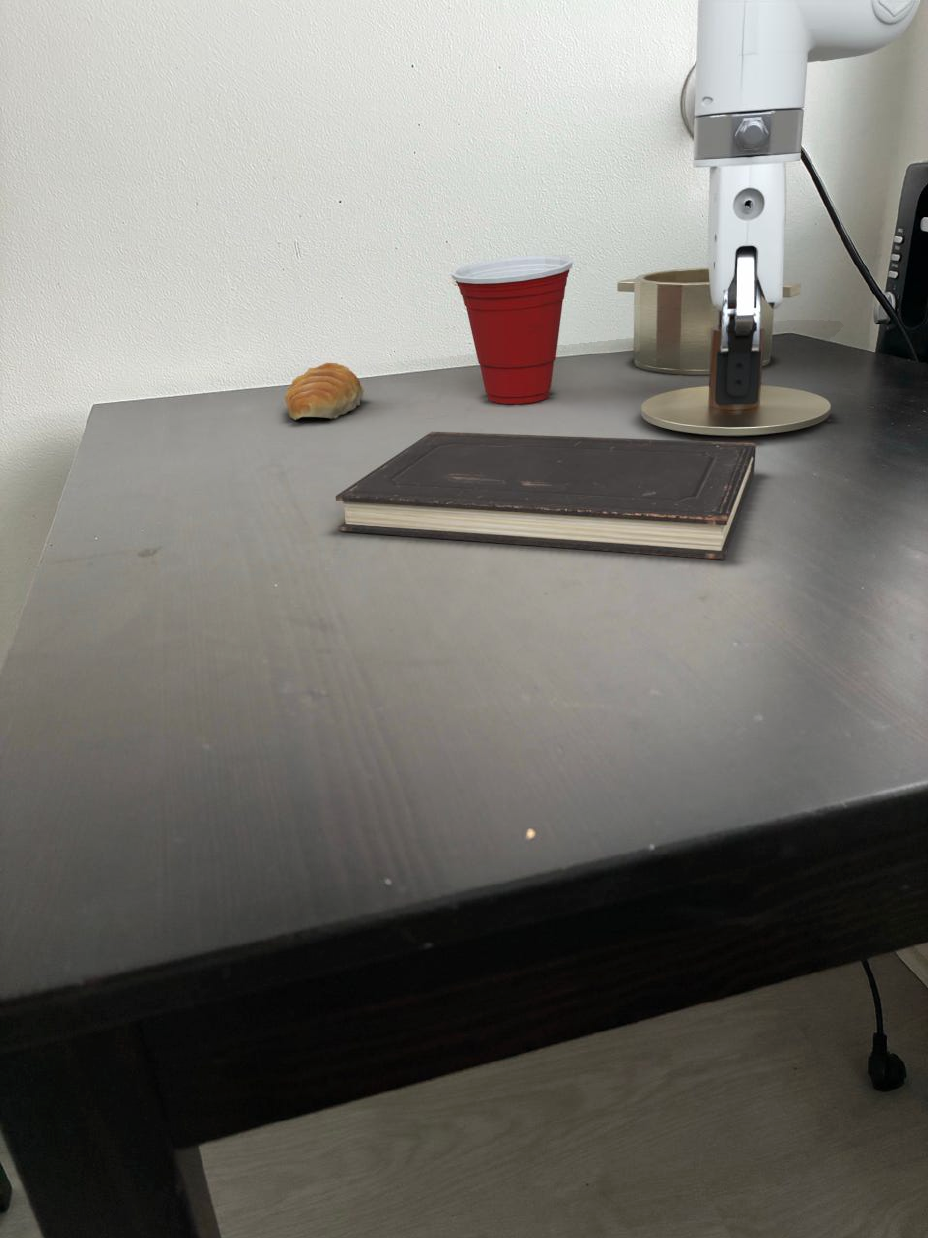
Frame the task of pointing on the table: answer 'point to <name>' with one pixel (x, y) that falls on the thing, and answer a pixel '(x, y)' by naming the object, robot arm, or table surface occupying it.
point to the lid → (735, 406)
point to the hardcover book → (559, 492)
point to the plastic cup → (515, 322)
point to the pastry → (324, 392)
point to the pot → (682, 320)
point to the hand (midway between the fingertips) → (734, 394)
